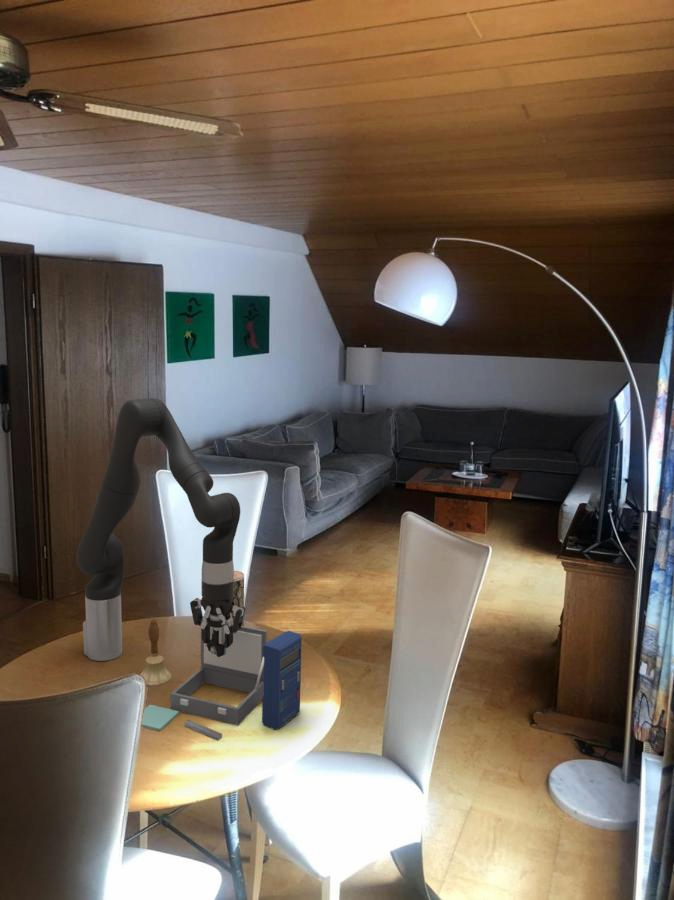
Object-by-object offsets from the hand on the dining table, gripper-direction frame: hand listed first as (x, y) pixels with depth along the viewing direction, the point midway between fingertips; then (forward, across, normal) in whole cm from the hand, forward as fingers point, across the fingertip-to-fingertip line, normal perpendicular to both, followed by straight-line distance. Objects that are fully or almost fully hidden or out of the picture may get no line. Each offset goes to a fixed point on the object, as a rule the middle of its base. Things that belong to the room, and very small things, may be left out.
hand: (217, 644), depth 180 cm
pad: (+15, -10, -12) cm, 22 cm away
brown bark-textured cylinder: (+15, -6, +19) cm, 25 cm away
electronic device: (+15, +18, -1) cm, 23 cm away
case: (+15, +1, 0) cm, 15 cm away
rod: (+15, +4, -13) cm, 20 cm away
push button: (+2, -1, 0) cm, 2 cm away
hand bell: (+16, -20, +4) cm, 26 cm away
